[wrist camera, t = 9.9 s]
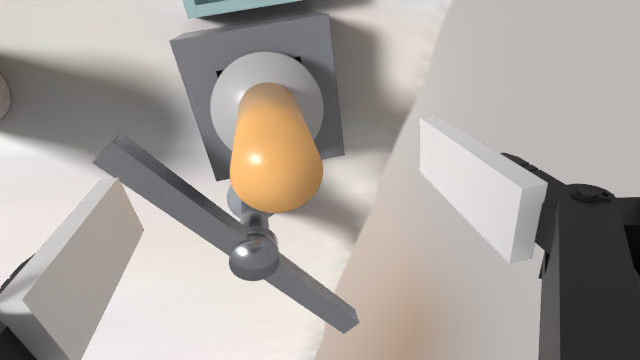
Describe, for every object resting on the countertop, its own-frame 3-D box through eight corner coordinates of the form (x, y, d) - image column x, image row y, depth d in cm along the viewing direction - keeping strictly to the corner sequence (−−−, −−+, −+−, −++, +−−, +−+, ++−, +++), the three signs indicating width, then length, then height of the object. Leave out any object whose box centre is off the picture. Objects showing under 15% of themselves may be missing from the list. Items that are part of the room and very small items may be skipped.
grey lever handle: (129, 124, 27) (80, 174, 19) (159, 93, 26) (120, 133, 19) (319, 272, 38) (336, 341, 30) (344, 253, 37) (368, 319, 30)
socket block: (172, 35, 25) (156, 43, 21) (315, 11, 26) (328, 14, 22) (234, 224, 34) (232, 257, 29) (340, 201, 34) (353, 230, 30)
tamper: (207, 50, 25) (157, 101, 12) (303, 36, 26) (356, 71, 13) (231, 140, 28) (212, 258, 15) (315, 126, 29) (366, 227, 16)
